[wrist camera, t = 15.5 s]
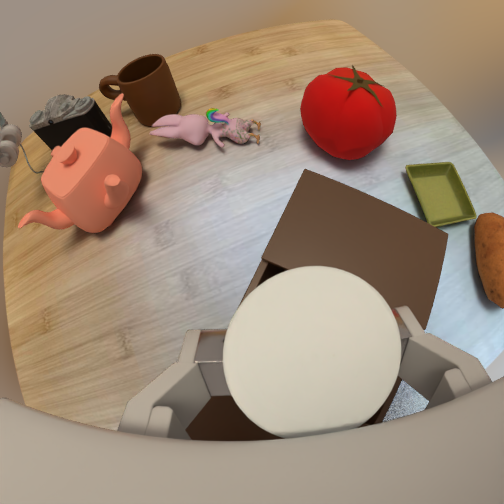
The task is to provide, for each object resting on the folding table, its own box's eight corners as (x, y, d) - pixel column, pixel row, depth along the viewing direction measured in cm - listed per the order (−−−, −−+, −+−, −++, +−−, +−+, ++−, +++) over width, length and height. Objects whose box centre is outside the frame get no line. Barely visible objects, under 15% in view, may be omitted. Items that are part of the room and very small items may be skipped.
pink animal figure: (259, 126, 38) (158, 121, 38) (264, 96, 33) (151, 92, 32) (257, 160, 36) (147, 154, 36) (262, 131, 31) (137, 125, 30)
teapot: (151, 141, 38) (121, 88, 27) (158, 226, 33) (115, 178, 23) (72, 174, 38) (33, 135, 27) (67, 256, 33) (13, 226, 23)
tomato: (302, 173, 34) (309, 107, 23) (295, 109, 37) (297, 47, 27) (392, 175, 33) (424, 118, 22) (373, 113, 36) (391, 56, 26)
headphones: (42, 171, 39) (-25, 106, 20) (57, 160, 40) (-8, 89, 21) (41, 206, 37) (-40, 141, 18) (57, 195, 37) (-24, 122, 18)
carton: (340, 403, 25) (379, 437, 14) (234, 357, 28) (205, 366, 16) (392, 274, 29) (449, 233, 17) (295, 231, 31) (304, 167, 20)
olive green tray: (399, 173, 33) (404, 164, 31) (446, 169, 33) (452, 161, 31) (423, 234, 30) (430, 227, 28) (470, 224, 30) (477, 217, 28)
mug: (110, 133, 40) (83, 95, 31) (125, 102, 42) (104, 64, 33) (175, 125, 38) (155, 79, 29) (187, 93, 41) (172, 49, 32)
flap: (379, 435, 14) (376, 439, 14) (207, 365, 16) (205, 369, 16) (380, 530, 7) (374, 533, 7) (136, 441, 9) (136, 446, 9)
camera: (123, 113, 41) (99, 72, 31) (110, 143, 39) (80, 102, 29) (63, 127, 42) (37, 95, 33) (50, 155, 40) (20, 124, 31)
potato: (472, 315, 26) (502, 299, 20) (461, 223, 31) (482, 194, 25) (510, 313, 25) (541, 298, 18) (497, 227, 29) (520, 201, 23)
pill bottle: (355, 322, 14) (440, 290, 6) (319, 408, 12) (365, 477, 4) (270, 288, 15) (258, 218, 7) (232, 373, 13) (171, 406, 5)
